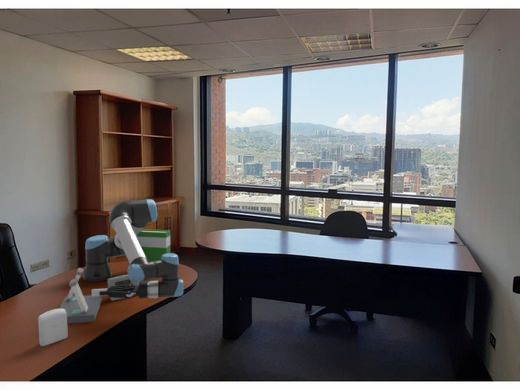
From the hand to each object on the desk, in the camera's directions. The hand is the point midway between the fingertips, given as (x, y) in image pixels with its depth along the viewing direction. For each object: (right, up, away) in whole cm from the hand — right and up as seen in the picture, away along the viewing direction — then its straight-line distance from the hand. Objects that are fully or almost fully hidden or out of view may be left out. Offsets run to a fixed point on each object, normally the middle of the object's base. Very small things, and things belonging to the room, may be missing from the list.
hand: (91, 292), depth 179 cm
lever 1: (-16, -6, +13) cm, 22 cm away
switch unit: (-9, -10, +8) cm, 16 cm away
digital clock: (+5, -9, +27) cm, 29 cm away
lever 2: (-3, -8, +1) cm, 9 cm away
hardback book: (+9, -3, +71) cm, 72 cm away
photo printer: (-7, -14, -20) cm, 25 cm away
